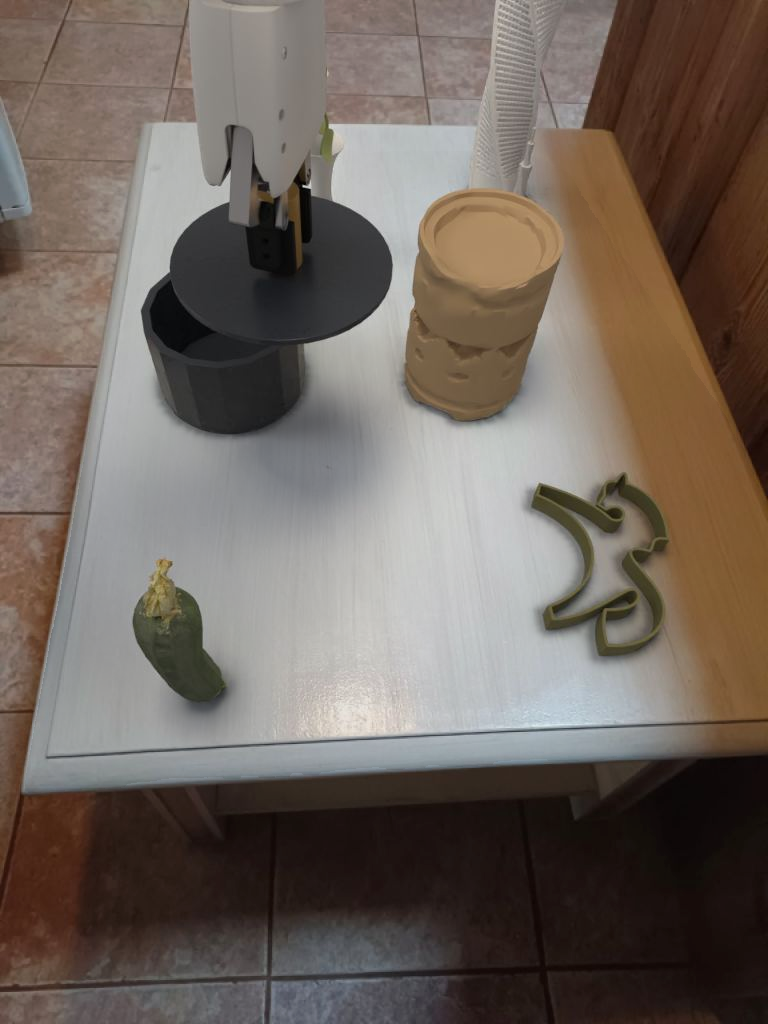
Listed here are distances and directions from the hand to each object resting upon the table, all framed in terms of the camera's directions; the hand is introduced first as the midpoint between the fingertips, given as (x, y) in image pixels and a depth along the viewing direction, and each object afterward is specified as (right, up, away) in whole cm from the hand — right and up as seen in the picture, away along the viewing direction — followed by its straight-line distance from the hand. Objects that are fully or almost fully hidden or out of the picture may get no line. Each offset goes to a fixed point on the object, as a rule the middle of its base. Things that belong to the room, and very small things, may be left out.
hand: (281, 251), depth 50 cm
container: (+15, -4, +27) cm, 32 cm away
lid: (0, -1, +1) cm, 1 cm away
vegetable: (-8, -33, +8) cm, 34 cm away
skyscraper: (+21, +21, +44) cm, 53 cm away
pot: (-9, -4, +25) cm, 27 cm away
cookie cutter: (+27, -23, +16) cm, 39 cm away
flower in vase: (0, +12, +36) cm, 38 cm away
